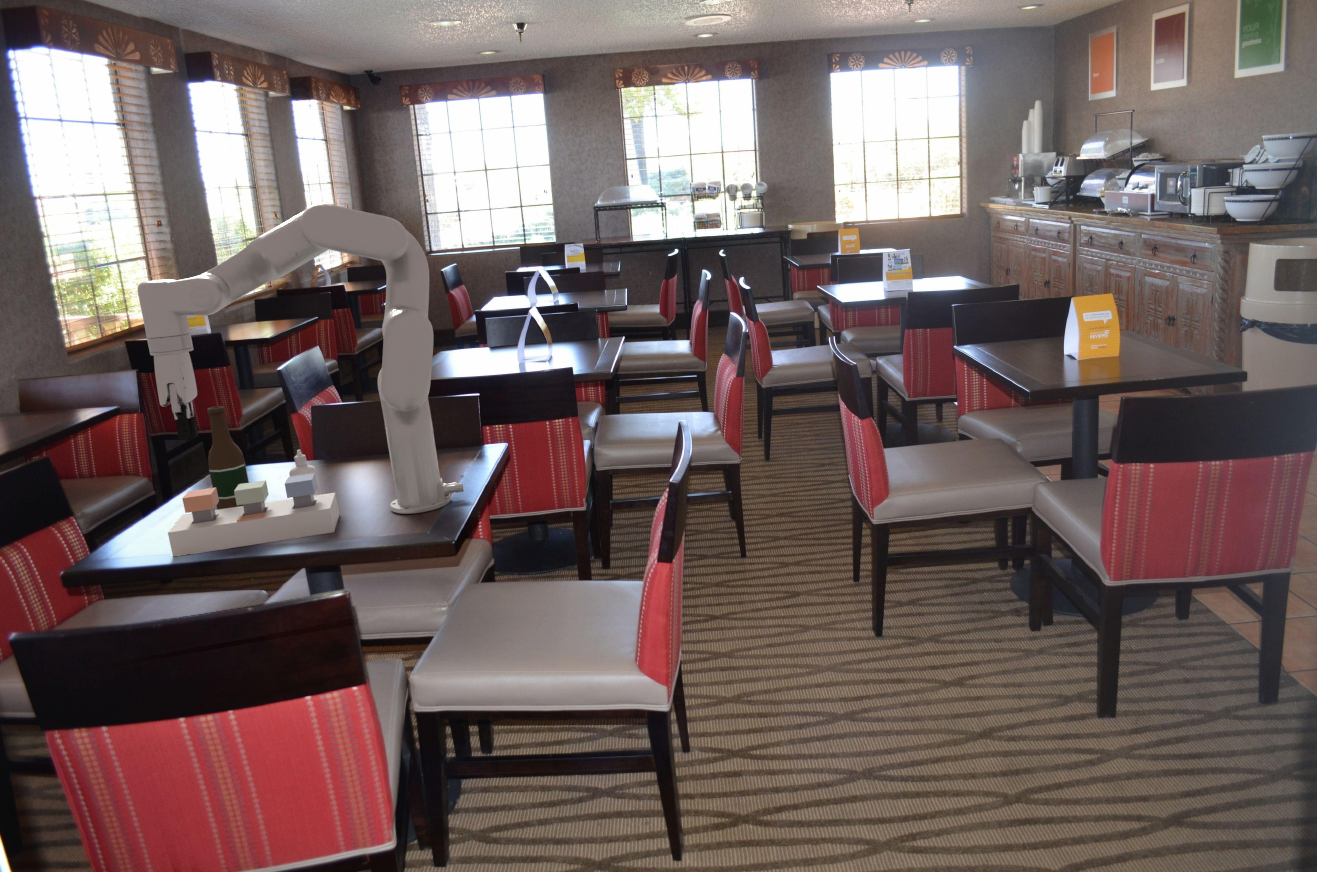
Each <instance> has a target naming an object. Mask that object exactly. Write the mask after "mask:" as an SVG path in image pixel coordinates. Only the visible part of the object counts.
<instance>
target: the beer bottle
mask: <svg viewBox="0 0 1317 872" xmlns="http://www.w3.org/2000/svg"><path fill="white" fill-rule="evenodd" d="M225 412H226V409H225V407H224V406H222V405H217V406H211V407H207V412H206V413H207V415H208V417H209V418H208V419H209V423H210V430H211V432H210V433H211V437H212V438H211V439H212V444H211V448H210V449H209V451H208V458H207V461H208V472H209V475H210V481H211V486H212V488H215V487H216V489H217V493H218V498H219V502H218V504H217V505H216V506H215V507H216V510H219V509H226V508H233V507H239V506H243V505H237V503H236V498H235V494H234V490H235V489H236V487H237V486H238V485H239V484H244V483H250V482H249V477H248V471H247V467H246V461H245V458H244V454H243V451H242V450H241V449H240V447H239V446H238V444H236V443H235V442H234V440H233V438H232V437H231V434H230V430H229V426H228V422H227V418H226V414H225Z"/></svg>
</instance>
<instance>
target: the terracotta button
mask: <svg viewBox="0 0 1317 872" xmlns="http://www.w3.org/2000/svg"><path fill="white" fill-rule="evenodd" d="M218 502H219V498H218V493H217V489H216V487H215V488H213V487H210V488H208V487H207V488H204V489H203V488H202V489H195V490H188V491H187V492H186V494H185V495H184V496H182V503H183V508H184V513H185V514H186V513H187V514H189V513H191V514H192V516H193V520H194V524H195V523H201V522H208V521H215V519H216V513H215V510H216V509H215V508H216V507H217V506H216V505H217V504H218Z"/></svg>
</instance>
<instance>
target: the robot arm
mask: <svg viewBox="0 0 1317 872" xmlns="http://www.w3.org/2000/svg"><path fill="white" fill-rule="evenodd" d="M329 250H331V251H335V252H338V253H344V254H348V255H353V256H357V257H362V258H367V259H372V260H376V261H381V263H382V265H383V267H384V269H385V273H386V274H385V275H386V284H385V285H386V286H385V307H384V308H385V309H384V317H383V322H382V325H381V326H382V327H381V328H382V329H381V332H382V337H383V343H382V344H383V345H382V346H383V347H382V359H381V360H382V363H381V368H380V370H379V372H378V376H377V389H378V394H379V399H380V400H379V401H380V404H381V409H382V416H383V421H384V429H385V434H386V439H387V441H386V442H387V447H388V452H389V459H390V467H391V473H392V478H393V483H394V484H393V485H394V491H395V497H396V498H395V499H394V500H393V501H391V502H390V504H389V507H390V511H392V512H393V513H396V514H401V515H403V514H407V515H408V514H410V515H411V514H419V513H426V512H430V511H434V510H437V509H440V508H443V507H445V506H447V505H448V504H449V503H451V500H452V498H451V494H452V493H453V494H454V493H455V494H456V493H462V492H463V493H464V484H463V482H459V483H457V481H454V482H451V483H446V482H443V477H441V476H440V469H439V468H440V467H439V461H438V454H437V447H436V441H435V434H434V427H433V420H432V414H431V407H430V403H429V402H430V401H429V393H430V389H431V381H432V369H433V368H432V367H433V356H434V355H433V353H434V330H433V325H432V322H431V321H430V320H429V302H430V268H429V264H428V259H427V256H426V254H425V251H424V249H423V248H422V246H421V244H420V243H419V241H418V240H417V238H416V237H414V235H413V234H412V233H410V232H409V231H408V230H407V228H405V226H404V225H403V224H402V223H401V222H400V221H399V220H397V219H395V218H393V217H390V216H385V215H382V214H376V213H373V212H366V211H362V210H357V209H352V208H350V207H349V208H348V207H345V206H340V205H337V204H332V203H330V202H324V201H323V202H322V201H321V202H317V203H313V204H311V205H309V206H308V207H307V208H306V209H304V210H303V211H301V212H300V213H298V214H296V215H294V216H292V217H291V218H289V219H287V220H285V221H284V222H282V223H280V224H279V225H277V226H275V227H274V228H271V229H270V230H268V231H266V232H264V233H262V234H261V235H259V236H257V237H256V238H255V239H253V240H252V241H251V242H250V243H248V245H246V246H245V247H244V248H243V249H241V250H240V251H239V252H237V253H236V254H234V255H232V256H231V257H230V258H228V259H226V260H224V261H222V262H221V263H219V264H217V265H216V266H214V267H213V268H210V269H208V270H206V271H204V272H203V273H201V274H198V275H195V276H192V277H188V278H183V279H178V280H176V279H174V278H173V279H172V278H169V279H168V278H165V279H152V280H146V281H142V282H140V283H138V286H137V296H138V300H139V305H140V311H141V315H142V316H141V317H142V320H143V324H144V329H145V336H146V341H147V345H148V349H149V355H150V356H153V364H154V375H155V382H156V389H157V395H158V401H159V405H160V406H161V407H164V408H165V407H167V406H169V405H171V411H172V412H171V413H172V414H173V416H174V422H175V426H176V432H177V437H178V440H180V441H181V440H182V441H183V440H190V439H195V438H197V437H198V436H199V434H198V433H199V432H198V428H197V427H198V426H197V421H196V416H195V410H194V404H193V401H194V399H195V398H197V396H198V389H197V388H198V387H197V383H196V377H195V376H196V375H195V372H194V367H193V362H192V358H191V355H190V353H189V352H192V351H194V346H193V340H192V335H191V329H190V325H189V319H188V316H210V315H214V314H216V313H218V312H219V311H221V310H223V309H224V308H226V307H228V306H229V305H230V304H232V303H233V302H235V301H237V300H240V299H241V298H242V297H244V296H246V295H247V294H249V293H251V292H253V291H255V290H256V289H258V288H260V287H262V286H264V285H266V284H268V283H271V282H274V281H277V280H279V279H281V278H282V277H284V276H286V275H288V274H289V273H291V272H293V271H295V270H297V269H298V268H300V267H301V266H304V265H305V264H307V263H309V262H310V261H312V260H313V259H315V258H317V257H319V256H320V255H322V254H324V253H325V252H327V251H329Z"/></svg>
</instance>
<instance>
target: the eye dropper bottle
mask: <svg viewBox="0 0 1317 872" xmlns="http://www.w3.org/2000/svg"><path fill="white" fill-rule="evenodd" d="M293 459H294V464H295V466H294V467H292V468H291V469H290V471H289V474H288V475H289V477H293V476H300V475H307V474H314V473H315V478H316V483H317V489H316V492H315V494H313V496H315V495H321V489H320V485H319V484H320V483H319V477H318V472H317V469H316V467H315V466H314V465H311V464H308V460H307V457H306V454H303V453H302V450H301V449H297V450H296V455H295V456H293Z"/></svg>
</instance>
